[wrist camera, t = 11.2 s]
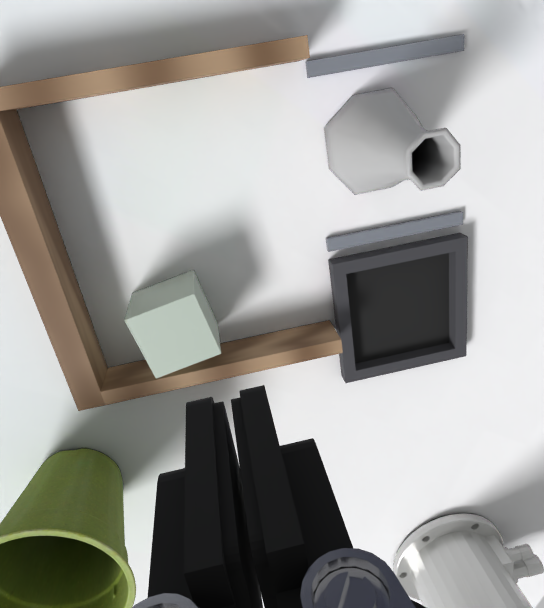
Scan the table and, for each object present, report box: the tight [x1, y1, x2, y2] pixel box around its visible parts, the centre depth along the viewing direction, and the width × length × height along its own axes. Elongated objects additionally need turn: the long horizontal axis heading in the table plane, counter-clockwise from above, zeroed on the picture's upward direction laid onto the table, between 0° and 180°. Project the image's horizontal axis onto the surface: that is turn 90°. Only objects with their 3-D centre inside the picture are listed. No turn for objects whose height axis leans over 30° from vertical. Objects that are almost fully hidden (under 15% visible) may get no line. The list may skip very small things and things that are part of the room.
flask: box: [324, 88, 460, 195], centre depth 31 cm, size 7×7×10 cm
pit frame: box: [328, 233, 468, 383], centre depth 40 cm, size 11×11×1 cm
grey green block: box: [124, 270, 221, 378], centre depth 36 cm, size 5×5×5 cm
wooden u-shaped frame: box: [0, 35, 343, 411], centre depth 34 cm, size 20×22×4 cm
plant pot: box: [0, 448, 136, 608], centre depth 38 cm, size 12×12×11 cm
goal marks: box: [306, 34, 464, 252], centre depth 35 cm, size 11×13×1 cm
